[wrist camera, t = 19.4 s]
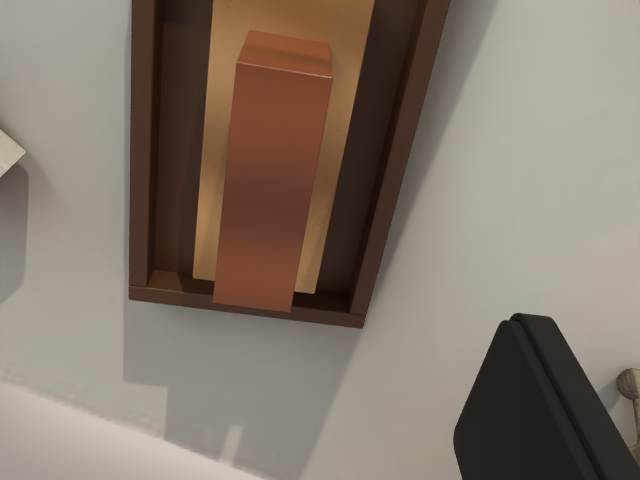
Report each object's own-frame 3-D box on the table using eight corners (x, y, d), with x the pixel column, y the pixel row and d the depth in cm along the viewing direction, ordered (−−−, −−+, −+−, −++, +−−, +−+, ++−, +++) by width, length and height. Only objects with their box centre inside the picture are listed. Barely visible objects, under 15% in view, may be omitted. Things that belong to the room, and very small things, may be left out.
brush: (227, -55, 20) (194, -29, 14) (369, -29, 21) (394, 6, 15) (203, 240, 27) (172, 345, 21) (314, 255, 27) (315, 361, 21)
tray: (359, 302, 29) (362, 329, 27) (139, 273, 28) (128, 300, 26) (464, -109, 20) (479, -108, 19) (149, -173, 19) (133, -179, 17)
